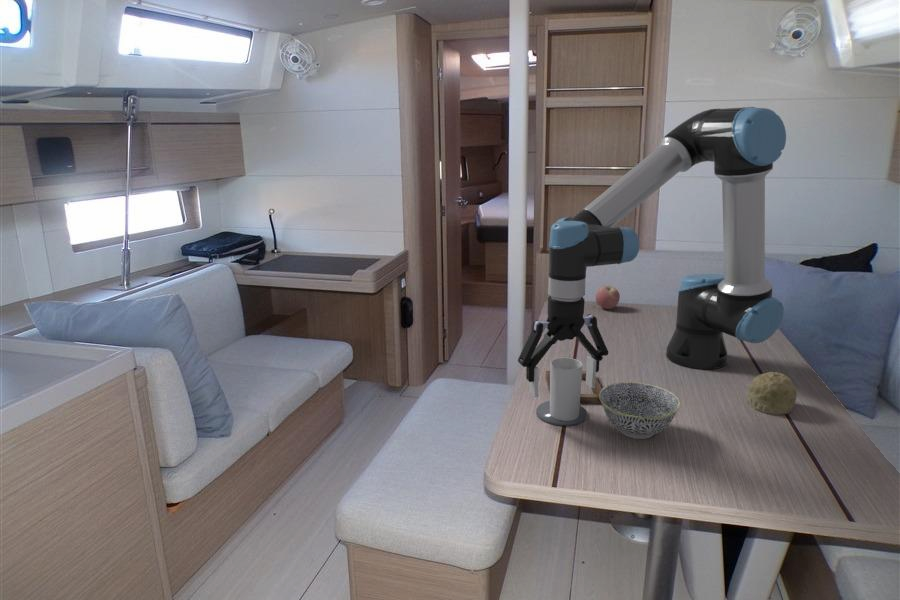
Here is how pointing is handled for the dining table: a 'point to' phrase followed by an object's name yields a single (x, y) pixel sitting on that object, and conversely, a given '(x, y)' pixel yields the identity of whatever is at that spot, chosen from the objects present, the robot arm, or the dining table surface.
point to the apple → (607, 297)
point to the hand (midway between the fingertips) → (562, 390)
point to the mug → (565, 388)
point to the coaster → (545, 416)
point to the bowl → (639, 408)
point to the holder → (583, 397)
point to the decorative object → (772, 393)
